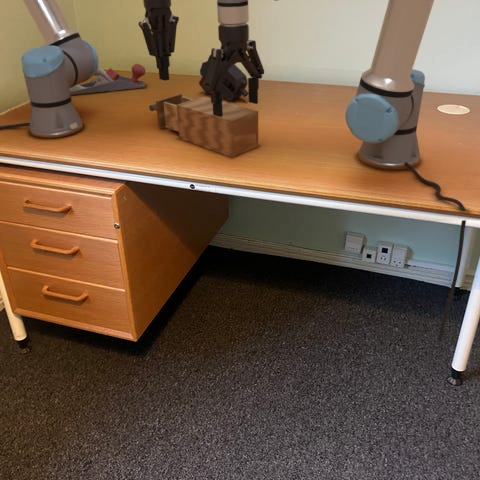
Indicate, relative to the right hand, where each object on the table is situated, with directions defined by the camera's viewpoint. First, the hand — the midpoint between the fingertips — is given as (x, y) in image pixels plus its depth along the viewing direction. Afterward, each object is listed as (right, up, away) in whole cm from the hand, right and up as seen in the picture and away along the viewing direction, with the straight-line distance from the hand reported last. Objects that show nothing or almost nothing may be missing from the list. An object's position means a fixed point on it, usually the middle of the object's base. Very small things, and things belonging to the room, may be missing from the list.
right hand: (236, 109), depth 141 cm
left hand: (-21, +13, +16) cm, 29 cm away
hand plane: (-49, +21, +57) cm, 78 cm away
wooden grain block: (-5, -7, +10) cm, 13 cm away
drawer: (-15, -2, +17) cm, 23 cm away
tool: (-5, +16, +46) cm, 49 cm away
